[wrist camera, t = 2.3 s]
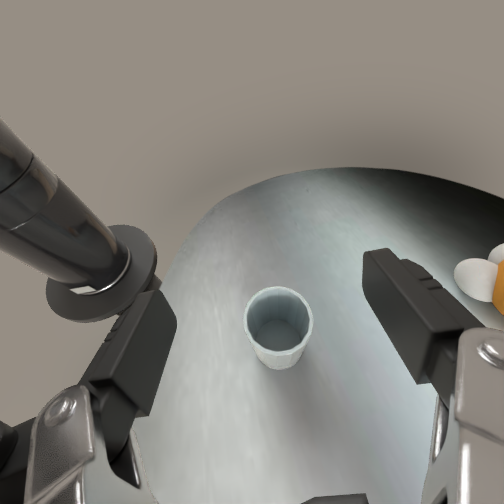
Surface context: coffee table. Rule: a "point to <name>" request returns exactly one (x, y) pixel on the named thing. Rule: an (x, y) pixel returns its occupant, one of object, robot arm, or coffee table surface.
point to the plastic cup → (278, 326)
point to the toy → (483, 278)
